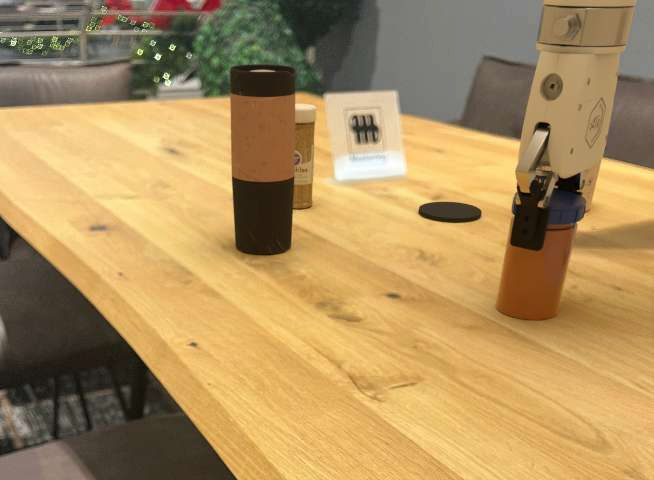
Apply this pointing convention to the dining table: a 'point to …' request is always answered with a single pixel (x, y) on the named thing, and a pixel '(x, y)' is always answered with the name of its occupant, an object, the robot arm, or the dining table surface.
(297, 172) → the sprinkles bottle
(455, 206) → the coaster
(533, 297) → the jar
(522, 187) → the robot arm
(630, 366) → the dining table surface
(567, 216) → the lid
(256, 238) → the travel mug
